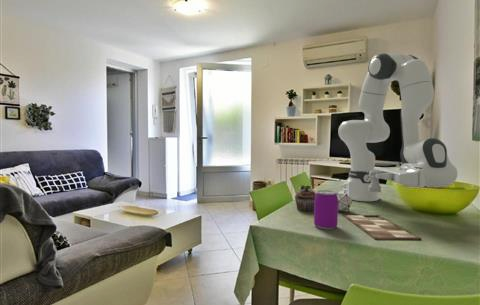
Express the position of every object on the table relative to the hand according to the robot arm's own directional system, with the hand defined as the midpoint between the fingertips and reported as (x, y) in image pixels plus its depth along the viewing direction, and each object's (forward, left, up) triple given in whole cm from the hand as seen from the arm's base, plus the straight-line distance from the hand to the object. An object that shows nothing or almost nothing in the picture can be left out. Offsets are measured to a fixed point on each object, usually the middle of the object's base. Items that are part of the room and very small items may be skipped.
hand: (372, 174), depth 109 cm
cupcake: (-14, -21, -17) cm, 30 cm away
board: (+9, -2, -17) cm, 19 cm away
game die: (-11, -7, -17) cm, 21 cm away
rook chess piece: (0, +1, -6) cm, 6 cm away
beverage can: (+10, -20, -17) cm, 28 cm away
